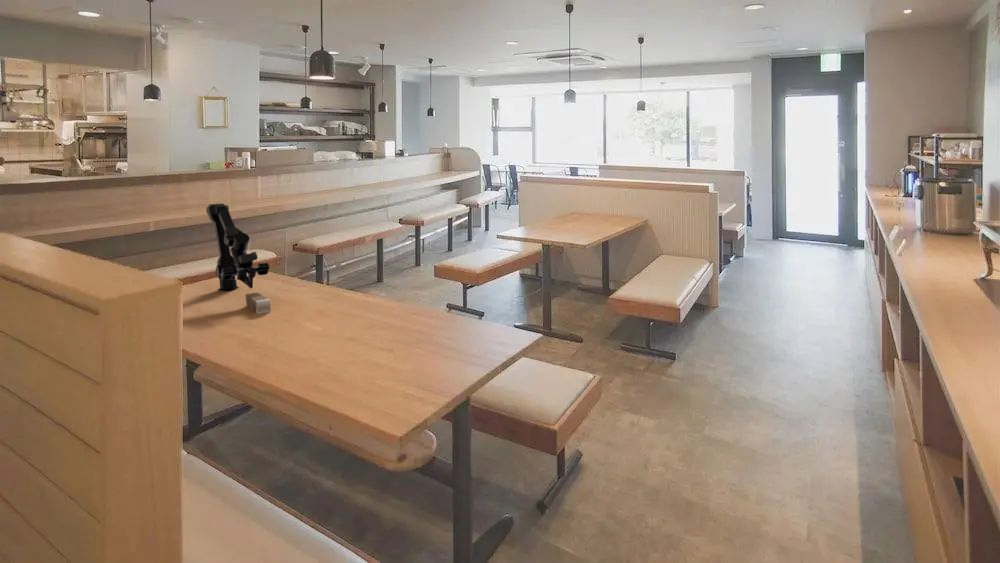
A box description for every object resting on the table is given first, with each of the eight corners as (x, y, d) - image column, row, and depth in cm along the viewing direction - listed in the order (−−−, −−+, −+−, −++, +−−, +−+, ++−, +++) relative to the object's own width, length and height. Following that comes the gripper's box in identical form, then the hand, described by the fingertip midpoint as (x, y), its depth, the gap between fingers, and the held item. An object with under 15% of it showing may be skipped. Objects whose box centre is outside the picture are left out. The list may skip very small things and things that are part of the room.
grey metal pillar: (245, 294, 259) (257, 301, 248) (257, 292, 262) (269, 299, 251) (246, 306, 260) (258, 313, 249) (258, 303, 263) (270, 311, 252)
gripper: (219, 248, 254) (230, 280, 248) (266, 243, 265) (277, 273, 259) (216, 264, 262) (227, 295, 256) (261, 259, 273) (272, 288, 267)
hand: (251, 287), depth 259 cm, fingers closed
